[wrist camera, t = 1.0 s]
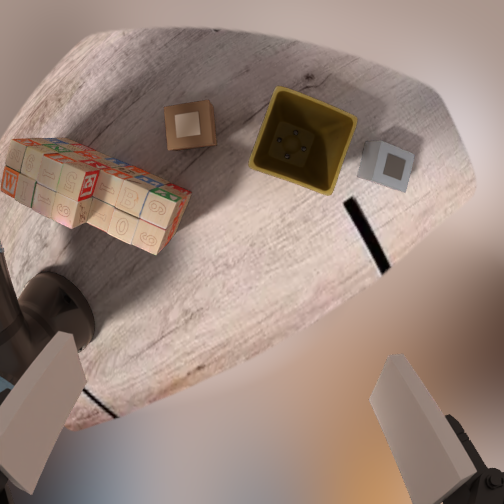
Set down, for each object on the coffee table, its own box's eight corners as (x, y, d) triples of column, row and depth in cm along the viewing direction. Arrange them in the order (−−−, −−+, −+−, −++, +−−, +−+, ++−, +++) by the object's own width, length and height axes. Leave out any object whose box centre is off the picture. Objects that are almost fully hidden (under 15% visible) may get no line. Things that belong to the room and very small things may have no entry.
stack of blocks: (194, 191, 36) (170, 208, 25) (175, 234, 38) (147, 269, 26) (65, 137, 33) (9, 138, 21) (53, 177, 35) (-2, 190, 23)
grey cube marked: (356, 176, 36) (372, 180, 31) (365, 141, 34) (382, 140, 29) (387, 187, 36) (406, 192, 32) (396, 153, 35) (415, 154, 30)
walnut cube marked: (177, 150, 34) (167, 150, 30) (174, 112, 33) (163, 107, 28) (217, 145, 34) (212, 143, 30) (213, 106, 33) (208, 99, 28)
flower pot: (269, 99, 33) (276, 83, 24) (334, 124, 34) (360, 117, 25) (246, 164, 35) (246, 167, 27) (311, 187, 36) (331, 197, 28)
